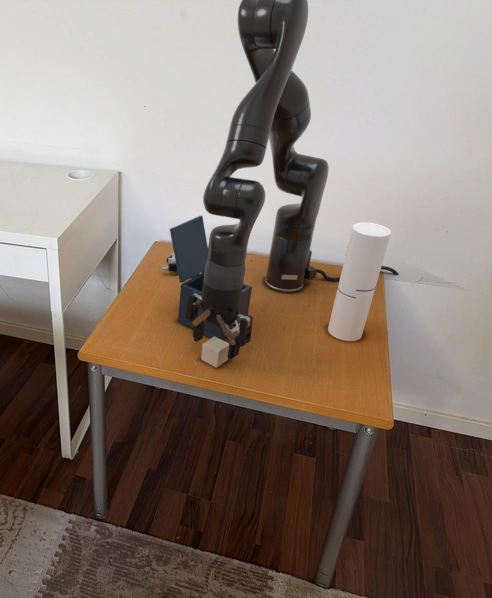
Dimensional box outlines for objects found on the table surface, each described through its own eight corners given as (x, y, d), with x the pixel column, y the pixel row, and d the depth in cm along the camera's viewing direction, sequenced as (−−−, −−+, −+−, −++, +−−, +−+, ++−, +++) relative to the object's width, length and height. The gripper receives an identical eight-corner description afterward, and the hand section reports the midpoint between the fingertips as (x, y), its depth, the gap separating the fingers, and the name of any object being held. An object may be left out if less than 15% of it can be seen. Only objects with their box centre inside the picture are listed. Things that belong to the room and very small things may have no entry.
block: (212, 351, 122) (214, 336, 120) (228, 359, 120) (230, 344, 118) (200, 359, 120) (202, 343, 118) (216, 367, 117) (218, 352, 115)
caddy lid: (202, 215, 130) (199, 215, 130) (172, 228, 123) (169, 228, 124) (211, 267, 133) (208, 267, 134) (182, 282, 127) (179, 282, 128)
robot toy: (160, 279, 152) (216, 285, 146) (159, 263, 149) (217, 269, 144) (173, 259, 161) (226, 265, 156) (172, 245, 159) (227, 250, 154)
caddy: (246, 323, 131) (252, 286, 126) (219, 342, 125) (223, 303, 120) (205, 304, 139) (209, 269, 134) (177, 321, 132) (180, 284, 127)
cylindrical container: (364, 342, 125) (394, 237, 112) (330, 339, 126) (356, 235, 113) (358, 325, 131) (386, 223, 118) (325, 321, 132) (349, 221, 119)
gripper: (266, 286, 108) (254, 356, 116) (205, 261, 117) (198, 328, 125) (243, 299, 103) (232, 371, 112) (182, 273, 112) (176, 341, 120)
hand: (214, 348), depth 118 cm, fingers open, 8 cm apart
